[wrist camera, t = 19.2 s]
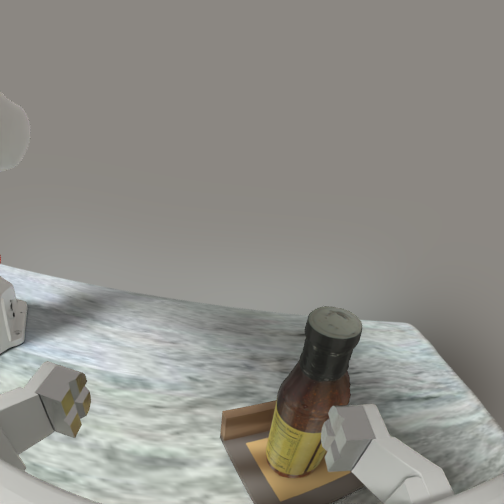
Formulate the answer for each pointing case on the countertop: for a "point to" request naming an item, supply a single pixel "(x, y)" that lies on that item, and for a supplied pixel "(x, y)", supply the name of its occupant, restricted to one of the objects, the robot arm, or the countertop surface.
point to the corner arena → (260, 473)
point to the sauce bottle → (312, 392)
